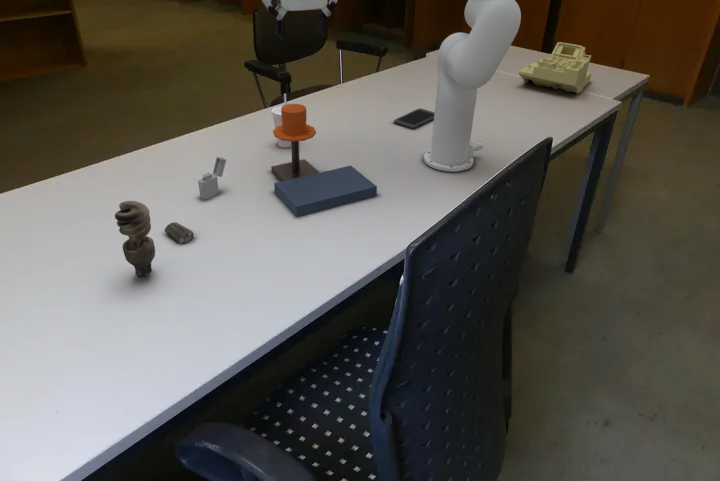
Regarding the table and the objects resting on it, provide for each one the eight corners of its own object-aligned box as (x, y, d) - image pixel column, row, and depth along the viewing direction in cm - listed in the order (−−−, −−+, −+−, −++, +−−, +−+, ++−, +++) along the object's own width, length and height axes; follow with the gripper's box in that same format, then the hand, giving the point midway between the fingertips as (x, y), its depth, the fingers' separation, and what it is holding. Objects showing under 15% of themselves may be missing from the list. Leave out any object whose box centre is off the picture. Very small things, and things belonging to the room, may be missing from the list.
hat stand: (304, 164, 145) (303, 111, 137) (321, 179, 138) (320, 124, 131) (271, 171, 141) (268, 117, 133) (286, 187, 135) (284, 131, 127)
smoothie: (293, 151, 151) (291, 99, 144) (269, 148, 152) (266, 96, 145) (300, 141, 156) (298, 90, 149) (277, 139, 157) (274, 88, 150)
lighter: (205, 200, 129) (200, 167, 124) (200, 197, 129) (195, 165, 125) (229, 188, 133) (226, 157, 129) (224, 186, 134) (220, 154, 130)
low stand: (350, 174, 141) (350, 165, 140) (376, 195, 132) (376, 186, 131) (274, 192, 132) (273, 183, 131) (296, 216, 124) (296, 206, 122)
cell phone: (439, 116, 174) (440, 113, 174) (413, 129, 165) (413, 127, 165) (419, 110, 178) (419, 107, 178) (392, 122, 169) (393, 120, 169)
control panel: (541, 33, 207) (600, 36, 197) (539, 74, 216) (594, 80, 207) (517, 58, 192) (579, 64, 182) (516, 102, 202) (575, 109, 192)
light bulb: (133, 266, 107) (117, 195, 99) (164, 266, 108) (150, 195, 99) (126, 285, 103) (108, 212, 94) (157, 284, 103) (142, 211, 95)
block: (177, 227, 119) (176, 219, 118) (196, 237, 116) (195, 230, 115) (162, 234, 116) (161, 227, 115) (181, 245, 113) (180, 237, 112)
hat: (304, 122, 139) (304, 97, 136) (323, 136, 132) (323, 111, 129) (266, 129, 135) (264, 104, 132) (283, 144, 128) (282, 119, 125)
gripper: (266, -48, 110) (270, 44, 120) (347, -50, 117) (345, 36, 127) (253, -53, 116) (258, 35, 125) (331, -55, 123) (330, 28, 132)
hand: (302, 36), depth 126 cm, fingers open, 9 cm apart
